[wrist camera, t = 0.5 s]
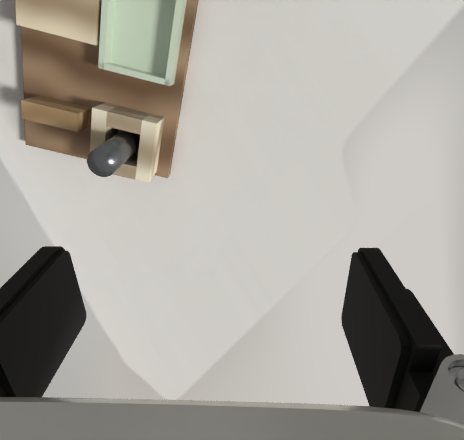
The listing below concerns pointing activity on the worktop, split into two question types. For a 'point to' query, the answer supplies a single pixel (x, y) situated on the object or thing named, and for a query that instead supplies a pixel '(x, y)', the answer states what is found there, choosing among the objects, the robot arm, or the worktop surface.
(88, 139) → the board
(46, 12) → the beige cardboard box
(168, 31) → the tray
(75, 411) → the robot arm
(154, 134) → the holder
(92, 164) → the dowel
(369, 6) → the worktop surface
